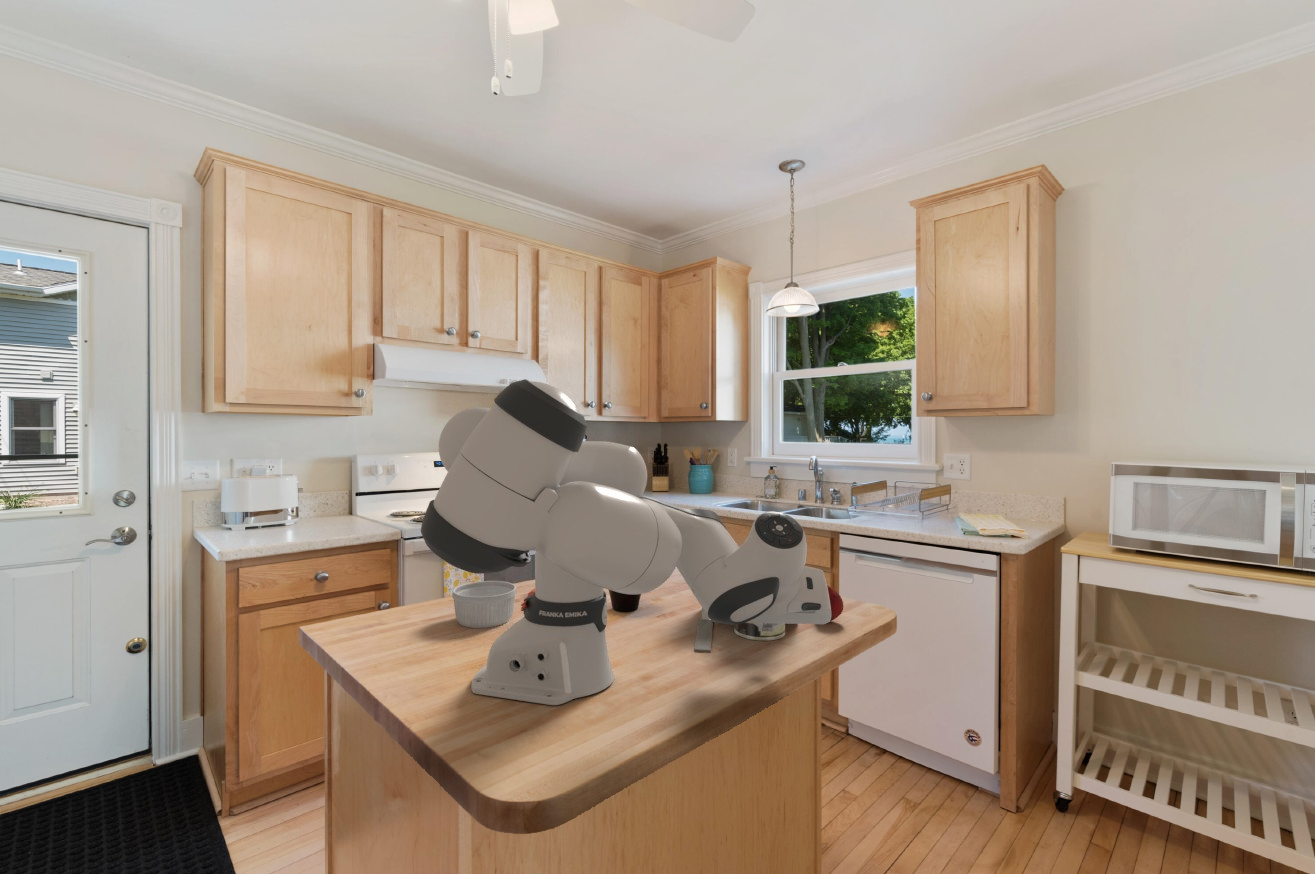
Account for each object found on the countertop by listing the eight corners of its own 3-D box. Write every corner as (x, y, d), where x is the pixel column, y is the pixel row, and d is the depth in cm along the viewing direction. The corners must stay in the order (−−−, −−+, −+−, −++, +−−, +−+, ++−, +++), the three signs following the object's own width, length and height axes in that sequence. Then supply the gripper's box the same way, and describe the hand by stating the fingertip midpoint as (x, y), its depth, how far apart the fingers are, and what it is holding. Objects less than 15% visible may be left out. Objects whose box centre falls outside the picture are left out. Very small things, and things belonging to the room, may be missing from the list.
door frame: (694, 651, 114) (694, 564, 114) (700, 607, 142) (700, 537, 141) (710, 651, 114) (710, 565, 113) (713, 608, 141) (713, 538, 141)
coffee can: (733, 639, 120) (733, 567, 120) (734, 623, 130) (734, 556, 130) (787, 642, 119) (787, 569, 119) (784, 625, 129) (784, 558, 129)
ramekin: (526, 623, 131) (525, 590, 131) (463, 634, 123) (463, 600, 123) (503, 608, 142) (503, 577, 142) (444, 617, 134) (444, 586, 134)
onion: (840, 617, 134) (840, 581, 134) (845, 626, 128) (845, 588, 128) (812, 617, 135) (812, 580, 134) (817, 625, 129) (817, 587, 129)
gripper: (706, 603, 98) (707, 643, 108) (838, 605, 96) (827, 645, 106) (706, 568, 102) (707, 610, 112) (833, 570, 101) (822, 612, 110)
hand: (766, 627), depth 109 cm, fingers closed
